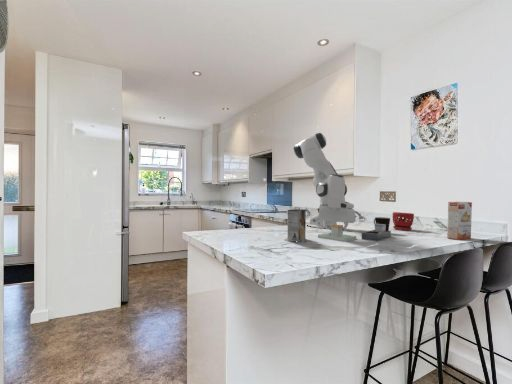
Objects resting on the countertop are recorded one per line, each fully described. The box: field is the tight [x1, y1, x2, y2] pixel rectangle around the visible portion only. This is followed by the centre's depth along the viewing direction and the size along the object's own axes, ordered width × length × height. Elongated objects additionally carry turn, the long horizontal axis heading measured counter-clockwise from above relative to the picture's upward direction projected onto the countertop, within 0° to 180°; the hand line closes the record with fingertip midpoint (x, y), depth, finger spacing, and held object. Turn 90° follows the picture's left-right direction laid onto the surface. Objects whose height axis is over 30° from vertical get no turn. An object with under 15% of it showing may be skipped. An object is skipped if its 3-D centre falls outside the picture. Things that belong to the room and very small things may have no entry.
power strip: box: [361, 229, 392, 242], centre depth 150 cm, size 8×20×4 cm, turn 135°
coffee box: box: [287, 208, 307, 243], centre depth 141 cm, size 9×6×16 cm
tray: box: [317, 232, 357, 242], centre depth 147 cm, size 16×12×2 cm
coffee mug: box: [373, 216, 391, 231], centre depth 171 cm, size 12×9×10 cm
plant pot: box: [392, 211, 415, 231], centre depth 191 cm, size 13×13×12 cm
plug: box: [330, 223, 344, 238], centre depth 147 cm, size 4×5×7 cm
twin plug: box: [374, 223, 386, 232], centre depth 153 cm, size 4×5×7 cm
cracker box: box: [446, 201, 473, 241], centre depth 155 cm, size 14×6×21 cm, turn 117°
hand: (335, 230), depth 147 cm, fingers open, 8 cm apart
